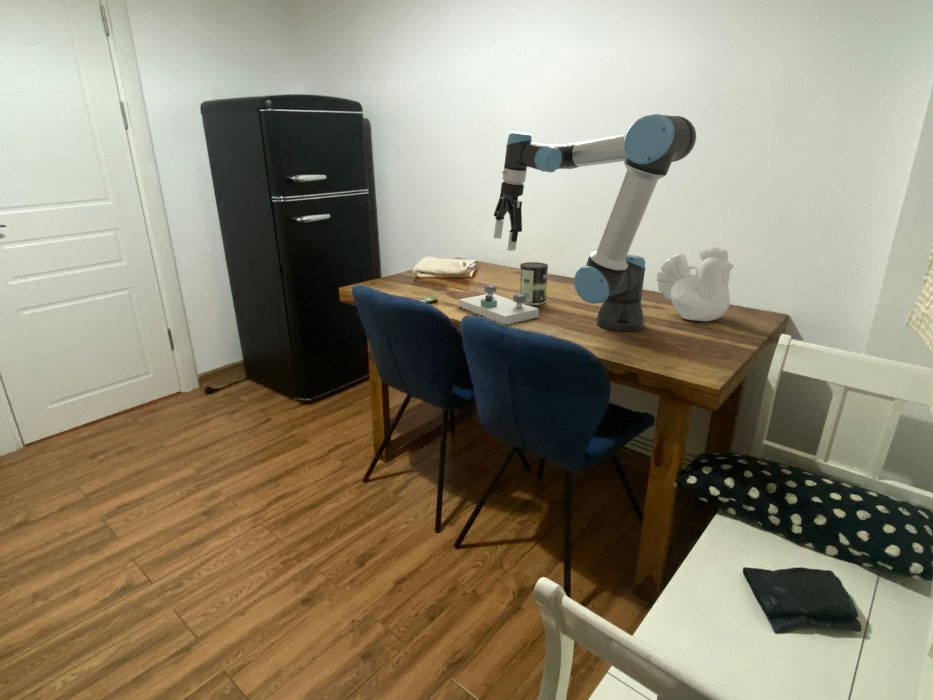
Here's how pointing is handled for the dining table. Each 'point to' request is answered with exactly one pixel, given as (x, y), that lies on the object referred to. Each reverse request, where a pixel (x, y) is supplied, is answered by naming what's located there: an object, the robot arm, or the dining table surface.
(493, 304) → the knob
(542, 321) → the dining table surface
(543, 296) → the coffee can
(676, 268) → the decorative rooster
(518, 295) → the knob near
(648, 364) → the dining table surface
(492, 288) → the knob far
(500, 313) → the panel
